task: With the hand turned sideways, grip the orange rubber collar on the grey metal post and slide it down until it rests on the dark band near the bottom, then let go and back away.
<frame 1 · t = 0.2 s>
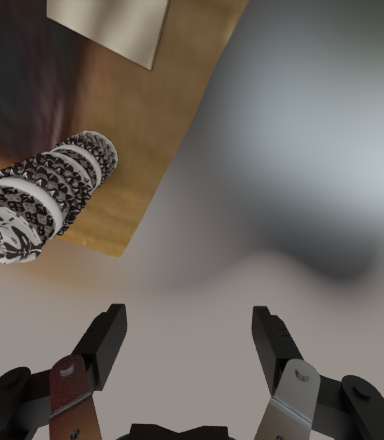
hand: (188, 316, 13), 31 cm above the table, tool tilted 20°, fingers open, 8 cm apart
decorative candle: (96, 154, 39), on the table
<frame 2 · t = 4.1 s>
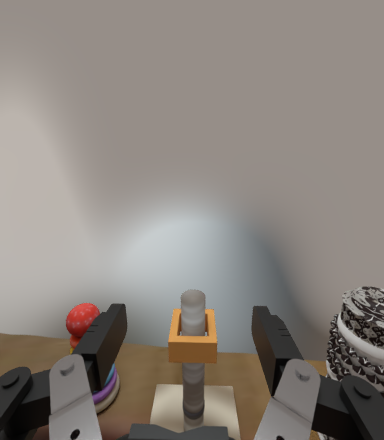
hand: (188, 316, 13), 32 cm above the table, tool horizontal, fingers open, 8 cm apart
post stand: (193, 439, 32), on the table
stacking toy: (97, 393, 39), on the table
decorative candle: (344, 436, 32), on the table
collar: (193, 333, 27), point 20 cm above the table, slide at 0.0 cm
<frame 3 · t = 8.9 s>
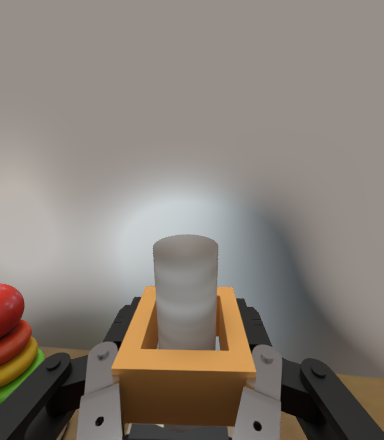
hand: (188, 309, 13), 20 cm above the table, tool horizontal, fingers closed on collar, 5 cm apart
stacking toy: (29, 439, 23), on the table
collar: (187, 341, 11), point 20 cm above the table, slide at 0.0 cm, touching gripper
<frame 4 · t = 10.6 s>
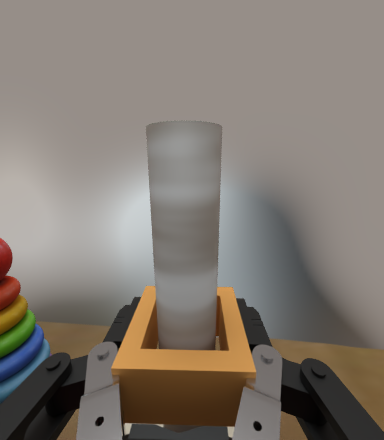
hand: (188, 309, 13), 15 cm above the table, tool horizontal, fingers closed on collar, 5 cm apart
stacking toy: (19, 406, 22), on the table
collar: (187, 341, 11), point 15 cm above the table, slide at -5.0 cm, touching gripper
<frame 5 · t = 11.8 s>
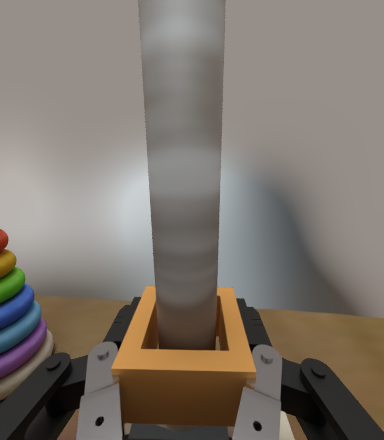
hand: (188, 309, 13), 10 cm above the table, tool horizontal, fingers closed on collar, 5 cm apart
stacking toy: (8, 370, 20), on the table
collar: (187, 341, 11), point 10 cm above the table, slide at -9.9 cm, touching gripper
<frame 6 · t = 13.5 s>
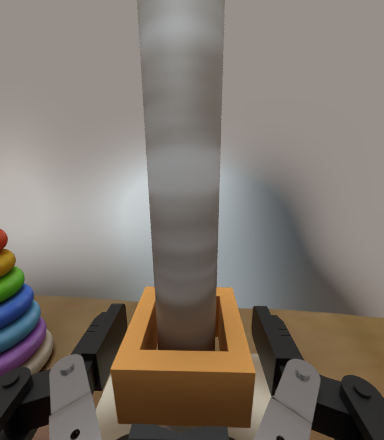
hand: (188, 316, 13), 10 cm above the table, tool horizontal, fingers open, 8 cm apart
stacking toy: (7, 370, 20), on the table
collar: (186, 342, 11), point 10 cm above the table, slide at -10.0 cm
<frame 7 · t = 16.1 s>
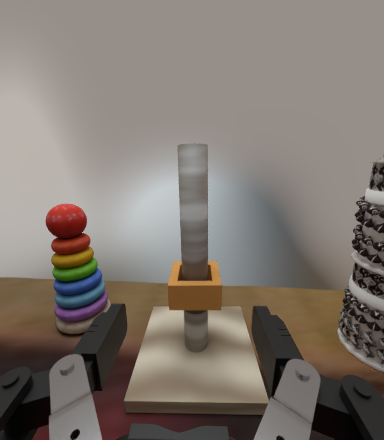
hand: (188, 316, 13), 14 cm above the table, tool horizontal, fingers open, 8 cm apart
post stand: (196, 351, 27), on the table
stacking toy: (86, 318, 34), on the table
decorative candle: (375, 347, 27), on the table
collar: (195, 283, 24), point 10 cm above the table, slide at -10.0 cm
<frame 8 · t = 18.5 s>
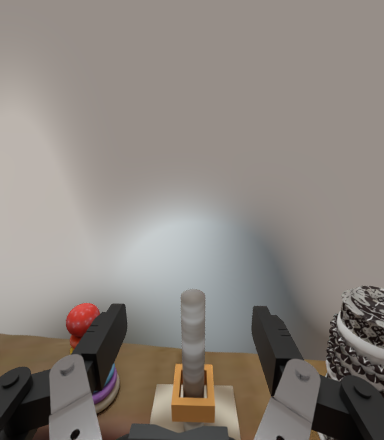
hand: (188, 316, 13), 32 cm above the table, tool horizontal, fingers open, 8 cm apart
post stand: (193, 439, 32), on the table
stacking toy: (97, 393, 39), on the table
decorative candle: (344, 435, 32), on the table
collar: (193, 390, 29), point 10 cm above the table, slide at -10.0 cm
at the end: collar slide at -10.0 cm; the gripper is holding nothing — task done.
